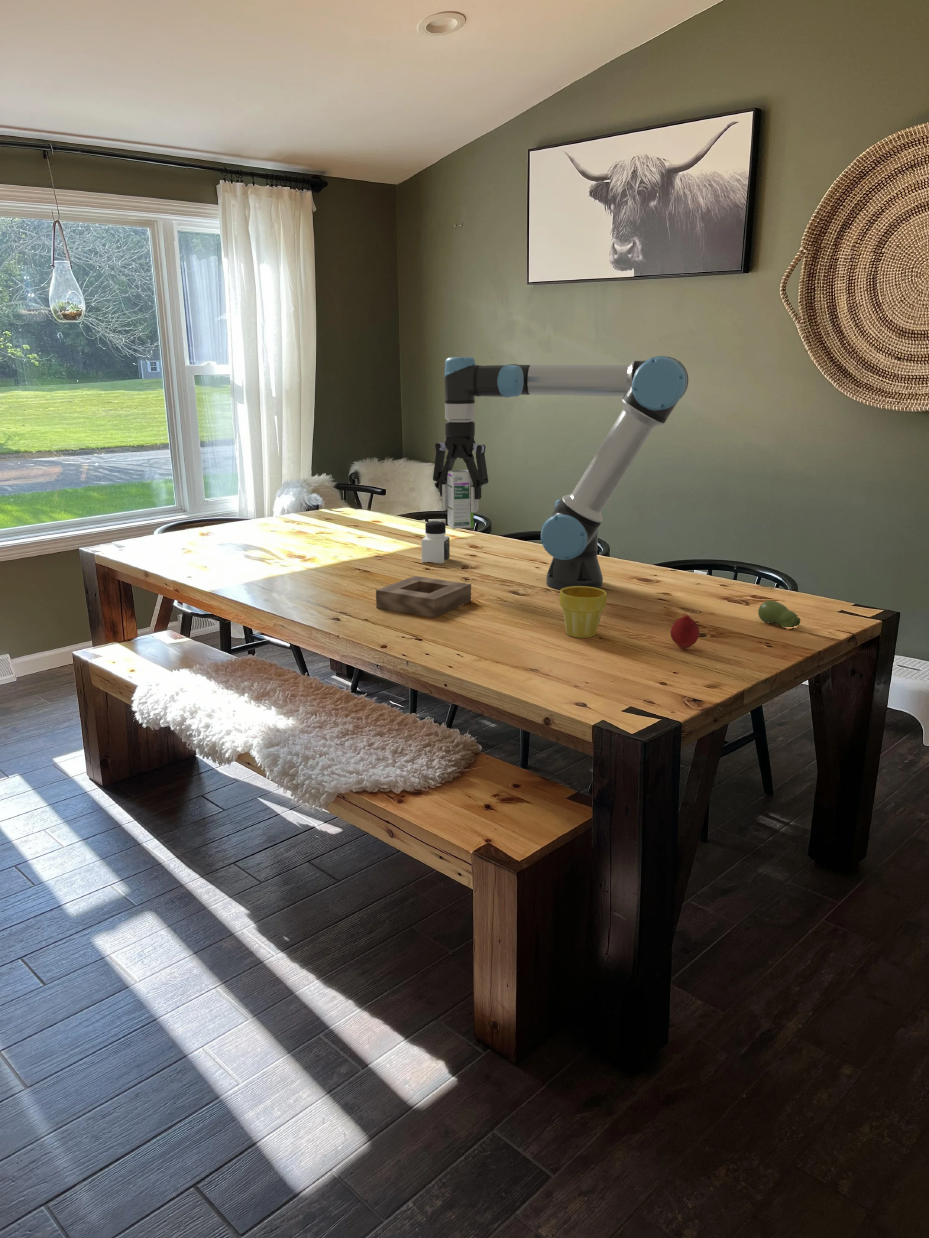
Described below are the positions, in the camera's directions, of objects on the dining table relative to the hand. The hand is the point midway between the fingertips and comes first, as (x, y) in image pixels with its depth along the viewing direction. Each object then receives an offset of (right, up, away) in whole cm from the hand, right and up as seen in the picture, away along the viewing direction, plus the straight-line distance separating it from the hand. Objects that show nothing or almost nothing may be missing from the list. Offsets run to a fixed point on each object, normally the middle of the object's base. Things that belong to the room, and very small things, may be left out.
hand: (460, 510), depth 231 cm
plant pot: (+27, -32, -32) cm, 53 cm away
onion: (+47, -35, -43) cm, 73 cm away
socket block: (-9, -25, -9) cm, 28 cm away
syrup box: (0, -4, +1) cm, 4 cm away
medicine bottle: (-8, -11, +39) cm, 41 cm away
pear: (+73, -30, -26) cm, 83 cm away
